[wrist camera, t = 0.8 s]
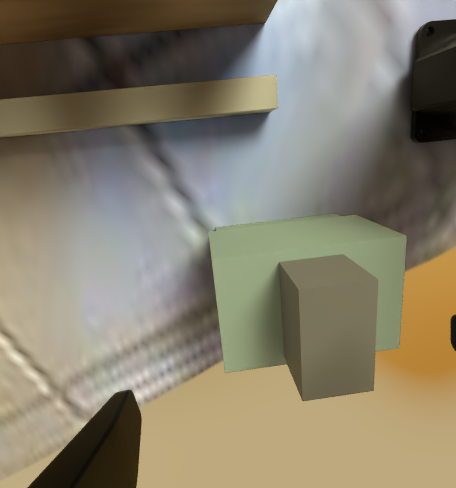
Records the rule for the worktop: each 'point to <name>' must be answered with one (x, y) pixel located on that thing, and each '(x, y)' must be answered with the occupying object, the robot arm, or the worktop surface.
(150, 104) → the wooden board
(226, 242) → the pale green blocky piece
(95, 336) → the worktop surface
